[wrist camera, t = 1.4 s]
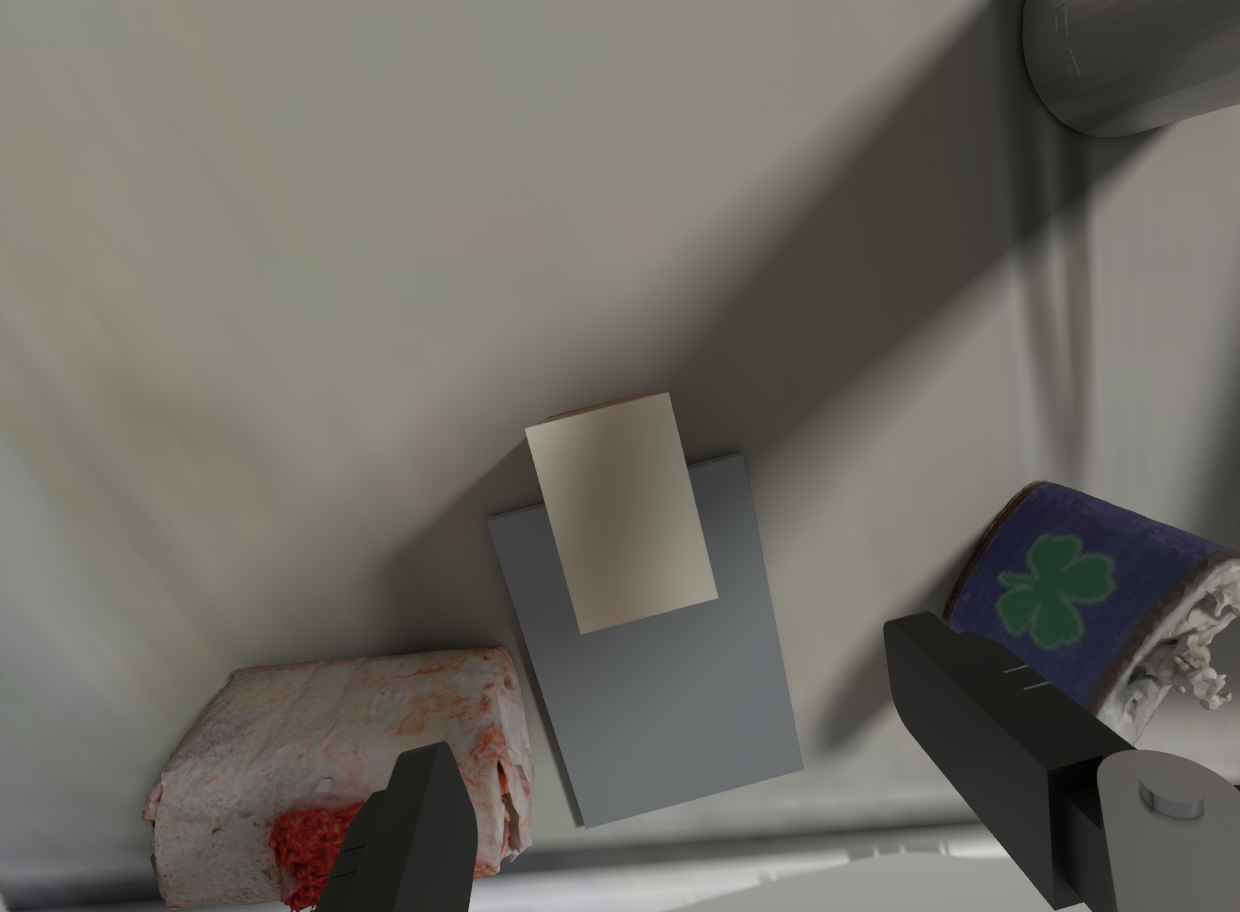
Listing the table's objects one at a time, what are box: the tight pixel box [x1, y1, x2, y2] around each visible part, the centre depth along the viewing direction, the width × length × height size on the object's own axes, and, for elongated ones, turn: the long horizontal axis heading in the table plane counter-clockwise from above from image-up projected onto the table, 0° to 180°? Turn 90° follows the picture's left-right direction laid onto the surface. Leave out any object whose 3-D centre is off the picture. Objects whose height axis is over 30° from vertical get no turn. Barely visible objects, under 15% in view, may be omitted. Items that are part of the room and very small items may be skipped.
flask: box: [943, 480, 1240, 746], centre depth 25 cm, size 9×3×11 cm, turn 153°
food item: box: [141, 646, 534, 912], centre depth 25 cm, size 14×8×10 cm, turn 93°
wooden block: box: [525, 392, 718, 634], centre depth 22 cm, size 4×6×10 cm
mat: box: [486, 452, 804, 829], centre depth 30 cm, size 12×18×1 cm, turn 14°
